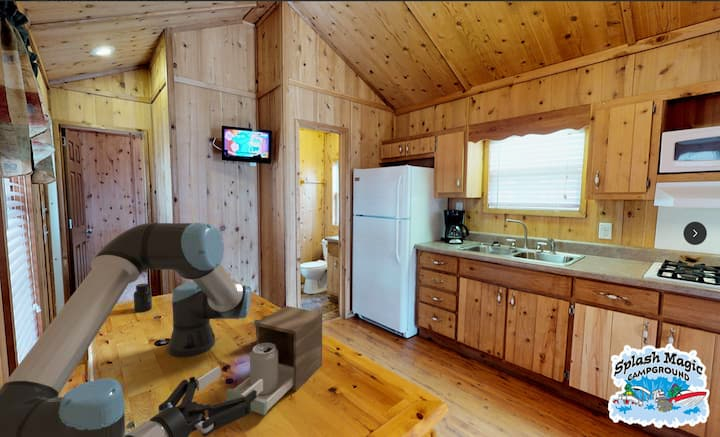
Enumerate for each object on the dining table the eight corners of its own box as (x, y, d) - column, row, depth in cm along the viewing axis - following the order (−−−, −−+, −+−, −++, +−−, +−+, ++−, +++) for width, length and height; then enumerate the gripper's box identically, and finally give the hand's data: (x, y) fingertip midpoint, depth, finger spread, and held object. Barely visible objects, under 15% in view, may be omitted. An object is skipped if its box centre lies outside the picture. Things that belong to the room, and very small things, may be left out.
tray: (226, 401, 84) (226, 390, 83) (269, 367, 100) (269, 358, 99) (264, 415, 79) (264, 403, 79) (303, 377, 95) (303, 367, 95)
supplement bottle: (148, 306, 152) (147, 281, 151) (154, 309, 148) (153, 284, 147) (131, 310, 147) (130, 285, 146) (137, 313, 143) (136, 288, 142)
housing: (257, 379, 96) (256, 322, 94) (286, 356, 109) (286, 305, 108) (296, 391, 90) (296, 331, 89) (321, 365, 104) (322, 312, 103)
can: (270, 399, 84) (270, 355, 83) (244, 394, 85) (244, 352, 84) (282, 382, 91) (282, 342, 90) (259, 378, 93) (258, 339, 91)
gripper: (116, 436, 64) (203, 379, 84) (206, 481, 55) (281, 405, 74) (114, 401, 64) (202, 352, 83) (206, 440, 54) (281, 375, 74)
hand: (239, 377), depth 79 cm, fingers open, 13 cm apart
